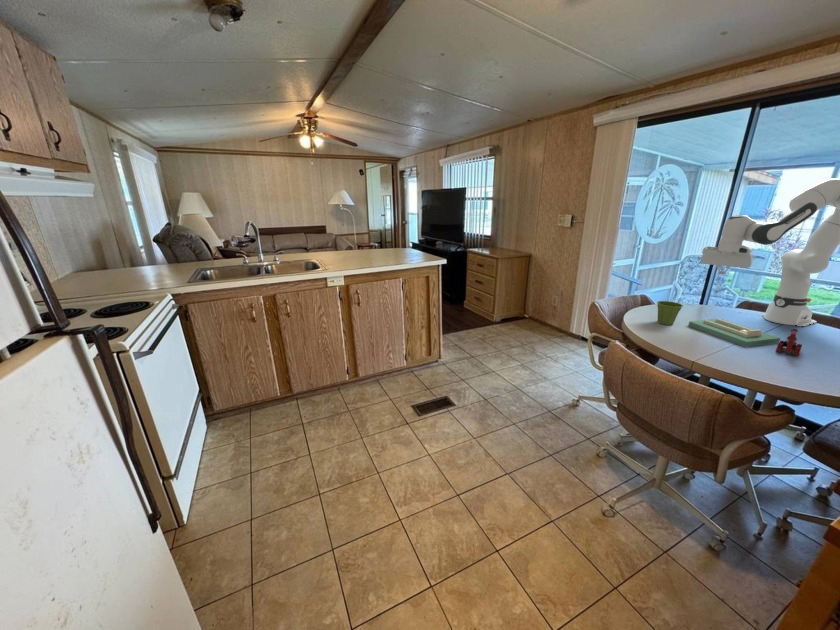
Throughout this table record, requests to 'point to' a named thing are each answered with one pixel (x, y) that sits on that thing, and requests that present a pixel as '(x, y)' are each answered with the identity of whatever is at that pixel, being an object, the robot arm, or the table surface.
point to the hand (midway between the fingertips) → (721, 274)
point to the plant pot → (668, 311)
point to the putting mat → (734, 332)
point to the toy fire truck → (790, 344)
